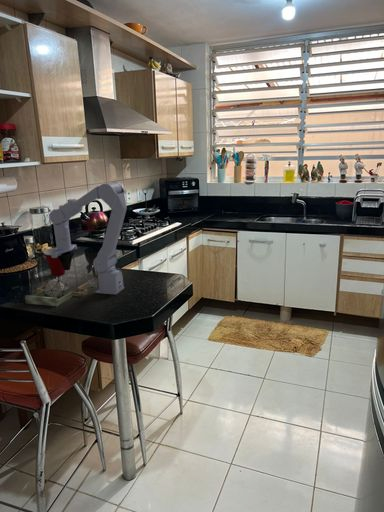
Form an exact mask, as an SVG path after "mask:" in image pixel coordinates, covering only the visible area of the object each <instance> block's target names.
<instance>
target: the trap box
mask: <svg viewBox="0 0 384 512" xmlns="http://www.w3.org/2000/svg"><path fill="white" fill-rule="evenodd" d="M59 280H60V279H59ZM60 281H61V282H62V283H64V282H63V280H60ZM45 288H46V285H41V286H39V287H37V288H35V292H36V293H33V294H32V295H29V294H26V295H24V298H25V304H29V305H40V306H50V307H58V306H60V305H61V304H63V303H65V302H66V301H68V300H70V299H71V298H72V297H84V296H85V295H87V294H89V293H90V292H89V289H88V288H90V283H89V282H85V283H83V284H81V285H79V286H77V287H76V288H77V289H76V290H77V291H73V290H72V291H71V290H70V291H69V292H68V293H66V294H63V295H64V296H60V297H57V298H54V297H50V296H44V295H46V294H45V293H44V294H42V293H43V292H45Z"/></svg>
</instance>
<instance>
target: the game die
mask: <svg viewBox="0 0 384 512" xmlns="http://www.w3.org/2000/svg"><path fill="white" fill-rule="evenodd" d="M45 282H46V284H45V286H46V288H45V292H43V293H42V294H44V293H45V295H47V296H48V297H54V298H60V297H63V296H64V295H65V294H64V293H65V291H64V290H65V287H66V285H68V283H64V282H63V283H62V282H61V281H60V279H57V276H54V278H53V279H50V280H48V281H47V280H45Z"/></svg>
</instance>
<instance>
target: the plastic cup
mask: <svg viewBox="0 0 384 512" xmlns="http://www.w3.org/2000/svg"><path fill="white" fill-rule="evenodd" d="M55 248H56V247H51V248H46V249H45V250H43V254H44V256H45V259H46V261H47V265H48V267H49V270H50V273H51V276H53V277H60V276H63V275H65V274H66V270H64V268H63V266H62V264H61V262H60V260H59V259H58V258H52V256H51V253H52V252H54V251H55Z"/></svg>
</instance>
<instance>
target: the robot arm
mask: <svg viewBox="0 0 384 512" xmlns="http://www.w3.org/2000/svg"><path fill="white" fill-rule="evenodd" d="M125 194H126V190H125V188H124V187H123V186H122V184H121V183H120V182H118V181H112V182H109V183H102V184H100V185H99V186H96V187H94V188H92V189H91V190H90V191H88V192H87V193H85V194H84V195H83V196H81V197H79V198H78V199H76V198H69V199H67V202H65V203H64V204H62V205H59V206H58V208H56V209H52V210H51V211H50V212H49V214H48V215H49V216H48V217H49V221H50V222H51V223H52V225H53V230H54V236H55V237H54V238H55V244H56V246H55V247H54V248H55V251H54V252H52V253H51V256H52V258H58V259H59V260H60V262H61V264H62V266H63V268H64V270H65V271H70V270H71V266H72V259H73V257H74V255H75V253H74V252H73V251H74V250H77V249H78V247H77V244H75V243H74V244H72V240H71V234H70V233H71V232H70V227H69V226H70V223H69V222H70V219H71V218H73V217H75V216H76V215H79V213H81V212H82V211H83V209H84V208H83V207H84V206H86V205H89V204H90V203H92V202H93V201H95V200H102V201H103V202H104V203H105V204H106V205H108V207H109V208H110V210H111V212H110V214H109V215H110V217H109V219H108V220H109V221H108V223H107V227H106V231H105V235H104V238H103V243H102V246H101V248H100V250H99V251H98V253H97V254H96V255H97V256H96V257H95V258H94V259H93V262H92V264H93V268H94V269H95V271H96V273H97V279H98V289H97V290H96V291H94V293H95V294H102V295H103V294H104V295H105V294H106V295H117V294H118V293H120V292H121V291H123V290H124V289H125V286H124V278H123V273H122V271H121V270H118V269H116V264H117V263H118V255H117V254H118V250H117V245H118V241H119V238H120V234H121V231H122V227H123V224H124V220H125V216H126V214H127V209H128V207H127V202H126V196H125Z"/></svg>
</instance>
